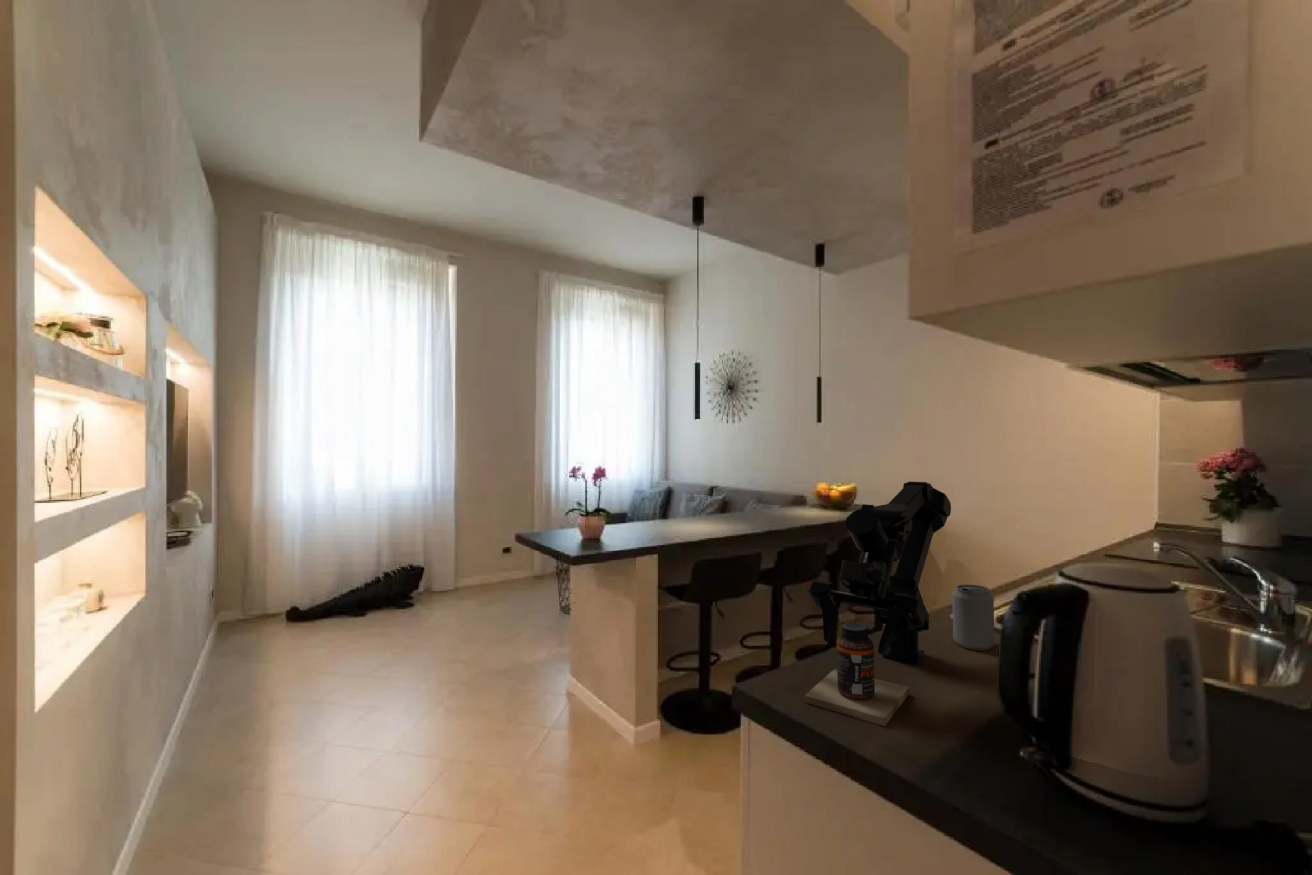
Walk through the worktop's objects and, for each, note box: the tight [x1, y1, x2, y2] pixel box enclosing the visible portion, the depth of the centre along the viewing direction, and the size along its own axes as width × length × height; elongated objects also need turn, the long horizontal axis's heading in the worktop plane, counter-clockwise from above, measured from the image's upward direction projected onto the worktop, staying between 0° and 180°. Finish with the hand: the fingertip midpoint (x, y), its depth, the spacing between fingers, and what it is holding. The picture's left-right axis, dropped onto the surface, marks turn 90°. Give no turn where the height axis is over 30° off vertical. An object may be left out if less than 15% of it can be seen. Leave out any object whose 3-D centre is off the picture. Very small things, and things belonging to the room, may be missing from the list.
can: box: [951, 583, 996, 651], centre depth 117 cm, size 8×8×12 cm
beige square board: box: [804, 668, 910, 727], centre depth 96 cm, size 13×13×1 cm
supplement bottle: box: [836, 622, 875, 700], centre depth 95 cm, size 6×6×11 cm
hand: (851, 646), depth 94 cm, fingers open, 9 cm apart
